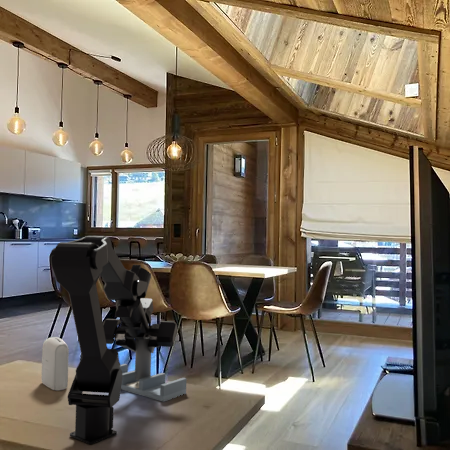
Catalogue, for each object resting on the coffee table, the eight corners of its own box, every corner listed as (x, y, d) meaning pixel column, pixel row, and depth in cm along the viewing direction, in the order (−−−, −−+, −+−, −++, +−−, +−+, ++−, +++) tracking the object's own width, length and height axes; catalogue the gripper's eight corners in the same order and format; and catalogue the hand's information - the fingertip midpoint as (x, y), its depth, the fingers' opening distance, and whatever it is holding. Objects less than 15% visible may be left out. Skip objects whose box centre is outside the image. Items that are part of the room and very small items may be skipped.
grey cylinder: (148, 380, 119) (150, 328, 120) (132, 380, 119) (133, 328, 120) (152, 376, 123) (153, 326, 124) (136, 375, 124) (138, 325, 124)
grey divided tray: (163, 401, 111) (164, 385, 111) (101, 383, 125) (101, 369, 125) (186, 393, 118) (186, 378, 118) (124, 377, 131) (124, 363, 131)
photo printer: (39, 382, 125) (40, 335, 125) (55, 380, 127) (56, 333, 128) (52, 392, 117) (54, 341, 117) (69, 389, 120) (71, 340, 120)
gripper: (176, 289, 117) (185, 327, 128) (104, 287, 120) (118, 324, 130) (167, 326, 109) (177, 363, 119) (90, 323, 112) (107, 359, 122)
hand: (144, 351), depth 123 cm, fingers closed on grey cylinder, 4 cm apart
